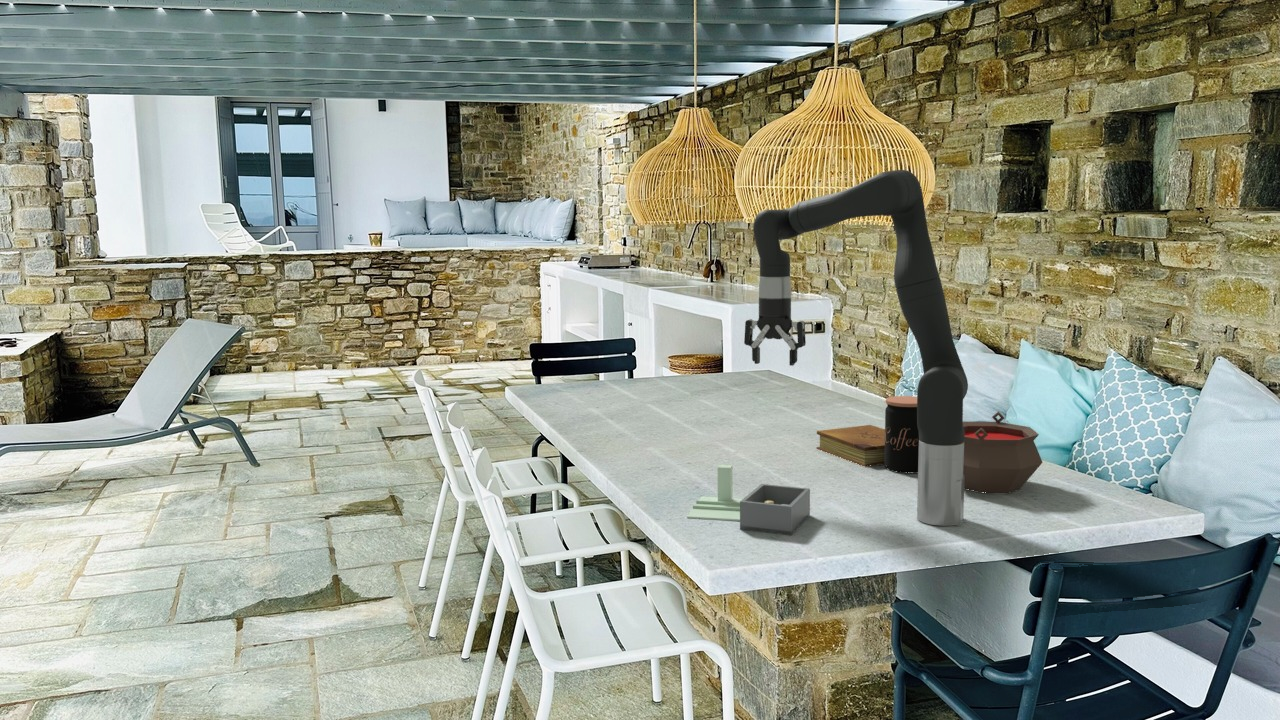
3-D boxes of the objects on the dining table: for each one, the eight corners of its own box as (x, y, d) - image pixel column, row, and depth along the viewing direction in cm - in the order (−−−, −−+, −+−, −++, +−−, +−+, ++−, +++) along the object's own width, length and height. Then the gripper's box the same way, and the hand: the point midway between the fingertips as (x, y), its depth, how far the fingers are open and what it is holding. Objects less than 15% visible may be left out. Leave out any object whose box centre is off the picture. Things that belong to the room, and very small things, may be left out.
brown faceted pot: (1033, 505, 225) (1036, 433, 223) (925, 492, 237) (926, 424, 235) (1048, 480, 246) (1051, 414, 244) (948, 469, 258) (950, 406, 256)
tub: (809, 515, 220) (810, 488, 220) (791, 535, 207) (791, 506, 206) (761, 510, 225) (761, 483, 224) (740, 529, 211) (739, 501, 210)
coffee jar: (876, 469, 259) (877, 400, 257) (898, 461, 267) (899, 394, 264) (913, 476, 252) (914, 405, 249) (935, 468, 259) (936, 399, 257)
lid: (752, 502, 232) (752, 465, 231) (741, 523, 217) (741, 483, 216) (701, 499, 235) (700, 463, 234) (687, 519, 220) (686, 480, 219)
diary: (923, 461, 269) (923, 440, 268) (864, 469, 262) (864, 447, 261) (872, 443, 290) (872, 423, 289) (816, 450, 283) (816, 430, 282)
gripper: (740, 296, 236) (740, 365, 238) (800, 297, 230) (799, 368, 232) (750, 294, 242) (750, 360, 245) (808, 295, 237) (808, 363, 239)
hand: (774, 364), depth 238 cm, fingers open, 8 cm apart
